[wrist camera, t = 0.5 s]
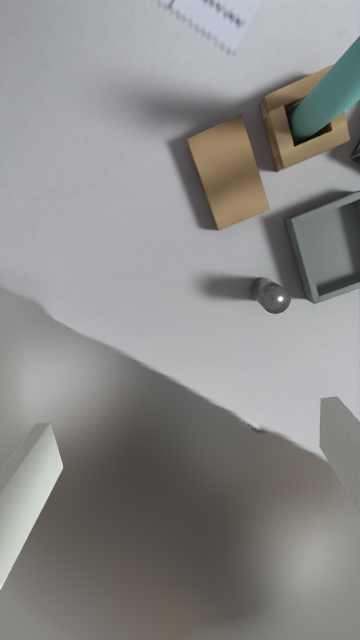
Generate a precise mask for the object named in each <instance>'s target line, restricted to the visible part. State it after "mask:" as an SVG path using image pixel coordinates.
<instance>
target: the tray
mask: <svg viewBox="0 0 360 640" xmlns="http://www.w3.org/2000/svg"><path fill="white" fill-rule="evenodd" d="M284 221H285V225H286V228H287V232H288V235H289V239H290V242H291V246H292V250H293V253H294V257H295V260H296V264H297V267H298V271H299V275H300V278H301V282H302V285H303V289H304V292H305V296H306V299H307V300H309V301H310V302H312V303H314V304H316V303H319V302H322V301H325V300H328V299H330V298H333V297H336V296H339V295H342V294H345V293H347V292H350V291H353V290H356V289H359V288H360V191H356V192H353V193H350V194H348V195H345V196H343V197H340V198H338V199H335V200H333V201H330V202H328V203H325V204H323V205H320V206H318V207H315V208H313V209H310V210H308V211H305V212H303V213H300V214H298V215H295V216H293V217H290V218H288V219H285V220H284Z"/></svg>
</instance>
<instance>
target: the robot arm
mask: <svg viewBox="0 0 360 640" xmlns="http://www.w3.org/2000/svg"><path fill="white" fill-rule="evenodd" d="M320 448H321V450H322V451H323V453H324V455H325V456H326V458H327V460H328V461H329V463H330V465H331V466H332V468H333V469H334V471H335V473H336V474H337V476H338V478H339V479H340V481H341V483H342V485H343V486H344V488H345V489H346V491H347V493H348V494H349V496H350V498H351V499H352V501H353V502H354V504H355V506H356V507H357V509H358V511H359V513H360V422H359V421H358V419H357V418H356V417H355V416H354V415H353V414H352V413H351V412H350V410H349V409H348V408H347V407H346V406H345V405H344V404H343V403H342V401H341V400H340V399H339V398H338V397H329V398H321V405H320ZM62 469H63V464H62V461H61V458H60V454H59V451H58V447H57V444H56V441H55V437H54V434H53V430H52V427H51V423H41V424H35V425H34V426H33V428H32V429H31V430H30V432H29V433H28V434H27V435H26V437H25V438H24V439H23V441H22V442H21V443H20V445H19V446H18V447H17V449H16V450H15V451H14V452H13V454H12V455H11V456H10V458H9V459H8V460H7V462H6V463H5V464H4V466H3V467H2V468H1V469H0V590H1V588H2V586H3V584H4V582H5V580H6V578H7V576H8V574H9V572H10V570H11V568H12V566H13V564H14V562H15V560H16V558H17V557H18V554H19V553H20V551H21V549H22V547H23V544H24V542H25V541H26V539H27V537H28V535H29V533H30V531H31V529H32V527H33V525H34V523H35V521H36V519H37V517H38V516H39V514H40V512H41V510H42V508H43V506H44V504H45V502H46V500H47V498H48V496H49V494H50V492H51V490H52V488H53V486H54V485H55V483H56V481H57V478H58V477H59V475H60V473H61V471H62Z"/></svg>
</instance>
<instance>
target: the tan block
mask: <svg viewBox="0 0 360 640" xmlns="http://www.w3.org/2000/svg"><path fill="white" fill-rule="evenodd" d="M187 145H188V148H189V151H190V153H191V156H192V159H193V162H194V165H195V168H196V170H197V173H198V176H199V179H200V182H201V185H202V187H203V190H204V193H205V196H206V199H207V202H208V204H209V207H210V210H211V213H212V216H213V219H214V221H215V224H216V227H217V230H222V229H224V228H226V227H229V226H231V225H234V224H236V223H238V222H241V221H243V220H246V219H248V218H251V217H253V216H255V215H258V214H260V213H263V212H265V211H267V210H270V208H269V205H268V201H267V198H266V195H265V191H264V188H263V185H262V181H261V178H260V174H259V171H258V168H257V164H256V161H255V158H254V154H253V151H252V148H251V144H250V141H249V138H248V134H247V131H246V128H245V124H244V121H243V118H242V114H240V115H238V116H235V117H233V118H231V119H229V120H227V121H225V122H222V123H220V124H218V125H216V126H214V127H212V128H210V129H207V130H205V131H203V132H201V133H199V134H197V135H195V136H192V137H190V138H188V139H187Z"/></svg>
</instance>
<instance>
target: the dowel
mask: <svg viewBox="0 0 360 640" xmlns="http://www.w3.org/2000/svg"><path fill="white" fill-rule="evenodd" d="M358 100H360V36H359V38H358V39H357V40H356V41H355V42H354V43H353V44H352V45H351V47H350V48H349V49H348V50H347V51H346V52H345V53H344V54H343V56H342V57H341V58H340V59H339V60H338V61H337V62H336V63H335V65H334V66H333V67H332V68H331V69H330V70H329V71H328V72H327V74H326V75H325V76H324V77H323V78H322V79H321V80H320V81H319V83H318V84H317V85H316V86H315V87H314V88H313V89H312V91H311V92H310V93H309V94H308V95H307V96H306V97H305V98H304V100H303V101H302V102H301V103H300V104H299V105H298V106H297V107H296V109H295V110H294V111H293V112H292V113H291V114H290V115H289V117H288V118H287V120H288V124H289V128H290V132H291V136H292V140H293V142H295V143H301V142H304V141H305V140H307V139H308V138H310V137H311V136H312V135H313V134H315V133H316V132H317V131H319V130H320V129H321V128H323V127H324V126H325V125H327V124H328V123H329V122H331V121H332V120H333V119H335V118H336V117H337V116H339V115H340V114H341V113H342V112H344V111H345V110H346V109H348V108H349V107H350V106H352V105H353V104H354V103H356V102H357V101H358Z"/></svg>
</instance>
